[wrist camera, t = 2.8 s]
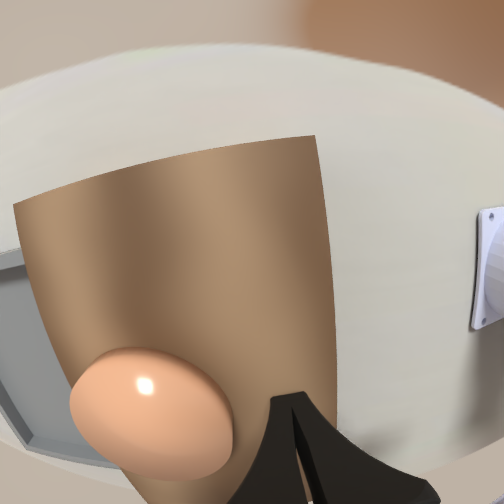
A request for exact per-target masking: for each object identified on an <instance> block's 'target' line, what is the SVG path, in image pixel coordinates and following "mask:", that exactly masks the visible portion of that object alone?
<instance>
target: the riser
mask: <svg viewBox="0 0 504 504" xmlns="http://www.w3.org/2000/svg"><path fill="white" fill-rule="evenodd" d="M13 207H14V213H15V219H16V225H17V230H18V236H19V240H20V245H21V250H22V254H23V258H24V262H25V266H26V270H27V274H28V278H29V281H30V285H31V288H32V291H33V295H34V298H35V301H36V304H37V307H38V310H39V313H40V316H41V319H42V321H43V324H44V327H45V330H46V332H47V335H48V337H49V340H50V342H51V345H52V347H53V350H54V352H55V354H56V357H57V359H58V361H59V364H60V366H61V368H62V370H63V372H64V374H65V376H66V379H67V381H68V383H69V385H70V387H71V389H73V387H74V385H75V384H76V382H77V381H78V380H79V378H80V377H81V376H82V374H83V373H84V372H85V370H86V369H87V368H88V366H89V365H90V364H91V363H92V362H93V361H94V360H95V358H97V357H98V356H100V355H101V354H103V353H105V352H107V351H109V350H113V349H117V348H123V347H144V348H151V349H156V350H161V351H164V352H167V353H170V354H173V355H175V356H178V357H180V358H182V359H184V360H186V361H188V362H190V363H192V364H194V365H195V366H197V367H198V368H200V369H201V370H203V371H204V372H205V373H206V374H208V375H209V376H210V377H211V378H212V379H213V380H214V381H215V382H216V383H217V384H218V385H219V386H220V387H221V389H222V390H223V391H224V393H225V395H226V396H227V398H228V400H229V402H230V405H231V408H232V413H233V442H232V452H231V455H230V457H229V459H228V461H227V462H226V463H225V464H224V465H223V466H222V467H221V468H220V469H219V470H217V471H216V472H214V473H213V474H210V475H208V476H206V477H203V478H199V479H195V480H189V481H163V480H157V479H152V478H147V477H144V476H141V475H137V474H135V473H132V472H130V471H127V470H125V469H123V468H121V467H119V468H120V469H121V470H122V472H123V473H124V474H125V476H126V477H127V478H128V480H129V481H130V482H131V484H132V485H133V486H134V487H135V489H136V490H137V491H138V492H139V494H140V495H141V496H142V497H143V498H144V500H145V501H146V502H147V503H148V504H226V503H227V502H228V501H229V500H230V498H231V497H232V496H233V494H234V493H235V492H236V490H237V489H238V487H239V486H240V484H241V483H242V481H243V480H244V478H245V476H246V474H247V473H248V471H249V469H250V467H251V465H252V463H253V461H254V459H255V457H256V455H257V452H258V450H259V447H260V444H261V442H262V439H263V436H264V433H265V429H266V426H267V422H268V417H269V411H270V399H271V398H272V397H273V396H279V395H285V394H291V393H296V392H301V391H304V392H306V393H307V395H308V397H309V398H310V400H311V401H312V402H313V404H314V405H315V406H316V408H317V409H318V410H319V411H320V413H321V414H322V415H323V416H324V417H325V418H326V419H327V420H328V421H329V423H330V424H331V425H332V426H333V427H334V428H335V429H336V430H337V353H336V326H335V307H334V292H333V278H332V266H331V255H330V244H329V234H328V225H327V217H326V208H325V200H324V193H323V185H322V178H321V171H320V164H319V158H318V152H317V145H316V139H315V135H312V136H301V137H291V138H282V139H274V140H266V141H258V142H251V143H244V144H238V145H232V146H225V147H220V148H214V149H208V150H203V151H198V152H192V153H187V154H182V155H178V156H173V157H168V158H164V159H159V160H155V161H151V162H147V163H142V164H138V165H134V166H131V167H127V168H123V169H119V170H115V171H112V172H108V173H105V174H101V175H98V176H94V177H91V178H88V179H84V180H81V181H78V182H75V183H72V184H68V185H65V186H62V187H59V188H56V189H54V190H51V191H48V192H45V193H42V194H39V195H37V196H34V197H31V198H29V199H26V200H23V201H21V202H18V203H16V204H13ZM296 452H297V449H296ZM297 460H298V464H299V468H300V473H301V477H302V481H303V485H304V489H305V493H306V497H307V501H308V502H309V501H313V500H312V496H311V492H310V489H309V486H308V483H307V480H306V477H305V474H304V471H303V468H302V465H301V462H300V459H299V455H298V452H297Z"/></svg>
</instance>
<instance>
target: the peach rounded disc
mask: <svg viewBox="0 0 504 504" xmlns="http://www.w3.org/2000/svg"><path fill="white" fill-rule="evenodd" d="M69 403H70V411H71V415H72V418H73V421H74V423H75V425H76V427H77V429H78V430H79V432H80V433H81V435H82V436H83V437H84V439H85V440H86V441H87V442H88V443H89V444H90V445H91V446H92V447H93V448H94V449H95V450H96V451H97V452H98V453H99V454H101V455H102V456H103V457H105V458H106V459H108V460H109V461H110V462H112V463H114V464H116V465H117V466H119V467H121V468H123V469H125V470H127V471H130V472H132V473H135V474H137V475H141V476H144V477H147V478H152V479H157V480H163V481H189V480H195V479H199V478H203V477H206V476H208V475H210V474H213V473H214V472H216V471H217V470H219V469H220V468H221V467H222V466H223V465H224V464H225V463H226V462H227V461H228V459H229V457H230V455H231V452H232V442H233V413H232V408H231V405H230V402H229V400H228V398H227V396H226V395H225V393H224V391H223V390H222V389H221V387H220V386H219V385H218V384H217V383H216V382H215V381H214V380H213V379H212V378H211V377H210V376H209V375H208V374H206V373H205V372H204V371H203V370H201V369H200V368H198V367H197V366H195V365H194V364H192V363H190V362H188V361H186V360H184V359H182V358H180V357H178V356H175V355H173V354H170V353H167V352H164V351H161V350H156V349H151V348H144V347H123V348H117V349H113V350H109V351H107V352H105V353H103V354H101V355H100V356H98V357H97V358H95V360H94V361H93V362H92V363H91V364H90V365H89V366H88V368H87V369H86V370H85V372H84V373H83V374H82V376H81V377H80V378H79V380H78V381H77V382H76V384H75V385H74V387H73V389H72V391H71V395H70V402H69Z"/></svg>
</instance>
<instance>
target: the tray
mask: <svg viewBox="0 0 504 504" xmlns="http://www.w3.org/2000/svg"><path fill="white" fill-rule="evenodd" d="M71 391H72V389H71V387H70V385H69V383H68V381H67V379H66V376H65V374H64V372H63V370H62V368H61V366H60V364H59V361H58V359H57V357H56V354H55V352H54V350H53V347H52V345H51V342H50V340H49V337H48V335H47V332H46V330H45V327H44V324H43V321H42V319H41V316H40V313H39V310H38V307H37V304H36V301H35V298H34V295H33V291H32V288H31V285H30V281H29V278H28V274H27V270H26V266H25V262H24V258H23V254H22V250H21V248H17V249H14V250H10V251H7V252H3V253H0V412H1V414H2V415H3V417H4V418H5V420H6V421H7V423H8V425H9V426H10V428H11V429H12V430H13V432H14V433H15V435H16V436H17V438H18V439H19V440H20V442H21V443H22V445H23V446H24V447H25V449H26V450H29V451H32V452H35V453H39V454H43V455H46V456H50V457H54V458H58V459H62V460H67V461H72V462H76V463H81V464H87V465H92V466H98V467H105V468H112V469H120V468H119V466H117V465H116V464H114V463H112V462H110V461H109V460H108V459H106V458H105V457H103V456H102V455H101V454H99V453H98V452H97V451H96V450H95V449H94V448H93V447H92V446H91V445H90V444H89V443H88V442H87V441H86V440H85V439H84V437H83V436H82V435H81V433H80V432H79V430H78V429H77V427H76V425H75V423H74V421H73V418H72V415H71V411H70V403H69V402H70V395H71ZM120 470H121V469H120Z"/></svg>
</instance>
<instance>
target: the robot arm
mask: <svg viewBox="0 0 504 504" xmlns="http://www.w3.org/2000/svg"><path fill="white" fill-rule="evenodd" d="M489 216H490V219H489ZM478 221H479V242H478V268H477V281H476V292H475V301H474V309H473V316H472V323H471V326H472V328H474V329H475V330H478V329H480V328H483V327H485V326H487V325H489V324H491V323H494V322H496V321H498V320H500V319H502V318H504V206H502V207H495V208H488V209H482V210H481V211H480V213H479V217H478ZM296 449H297V452H298V455H299V459H300V462H301V465H302V468H303V471H304V474H305V477H306V480H307V483H308V486H309V489H310V492H311V496H312V500H313V504H440V502H441V500H440V498H439V496H438V494H437V492H436V491H435V490H434V488H433V487H432V486H431V485H430V484H429V483H428V481H427V480H424V479H421V478H418V477H415V476H412V475H409V474H407V473H404V472H402V471H399V470H397V469H395V468H392V467H390V466H388V465H386V464H384V463H383V462H381V461H379V460H377V459H375V458H373V457H372V456H370V455H368V454H367V453H365V452H364V451H362V450H361V449H360V448H358V447H357V446H355V445H354V444H353V443H351V442H350V441H349V440H348V439H347V438H345V437H344V436H343V435H342V434H341V433H340V432H339V431H338V430H336V429H335V428H334V427H333V426H332V425H331V424H330V423H329V421H328V420H327V419H326V418H325V417H324V416H323V415H322V414H321V413H320V411H319V410H318V409H317V408H316V406H315V405H314V404H313V402H312V401H311V400H310V398H309V397H308V395H307V393H306V392H304V391H301V392H296V393H291V394H285V395H279V396H273V397H272V398H271V399H270V411H269V417H268V422H267V426H266V429H265V433H264V436H263V439H262V442H261V444H260V447H259V450H258V452H257V455H256V457H255V459H254V461H253V463H252V465H251V467H250V469H249V471H248V473H247V474H246V476H245V478H244V480H243V481H242V483H241V484H240V486H239V487H238V489H237V490H236V492H235V493H234V494H233V496H232V497H231V498H230V500H229V501H228V502H227V503H226V504H308V501H307V497H306V493H305V489H304V485H303V481H302V477H301V473H300V468H299V464H298V460H297V452H296ZM490 504H504V494H503V495H502V496H500V497H499V498H497V499H496V500H495V501H493V502H492V503H490Z"/></svg>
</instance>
